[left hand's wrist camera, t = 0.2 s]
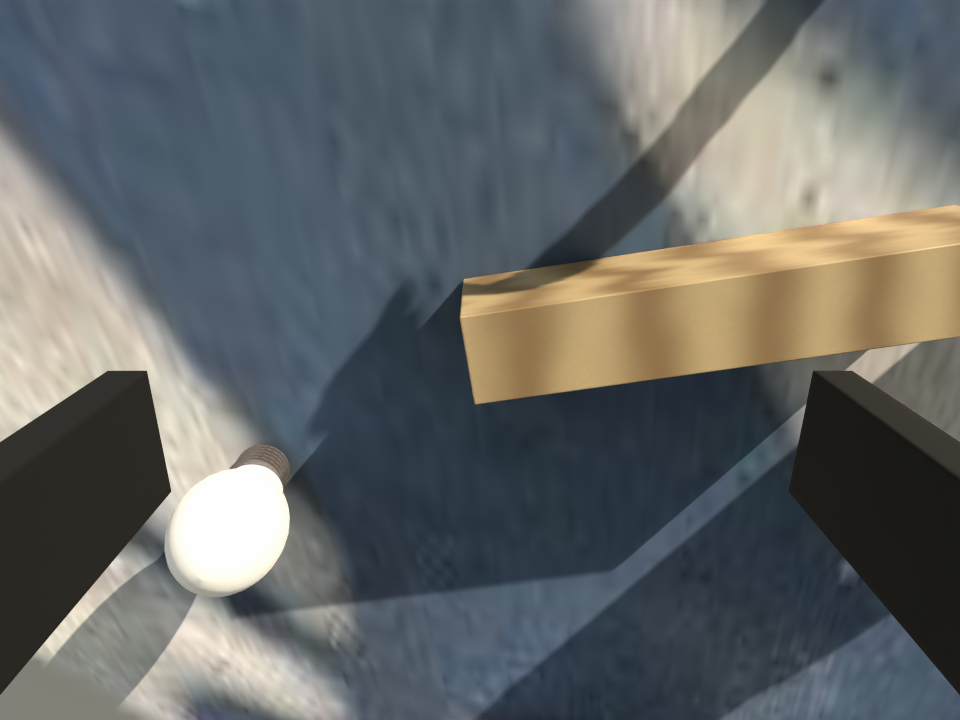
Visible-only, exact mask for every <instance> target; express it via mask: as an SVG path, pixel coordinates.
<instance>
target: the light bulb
mask: <svg viewBox="0 0 960 720" xmlns="http://www.w3.org/2000/svg"><path fill="white" fill-rule="evenodd" d="M289 476H290V464H289V461H288V459H287V457H286V456H285V455H284V454H283V453H282V452H281V451H280V450H278V449H277V448H275V447H272V446H268V445H257V446H253V447H251V448H248V449H247V450H245V451H244V452H243V453H242V454H241V455H240V457H239V458H238V460H237V461H236V463H235V464H234V465H233V467H232V468H231V469H229V470H224V471H221V472H218V473H216V474H213V475H210V476H209V477H207V478H205V479H204V480H202V481H201V482H199V483H198V484H196V485H195V486H194V487H193V488H192V489H191V490H190V491H189V492H188V493H187V494H186V495H185V496H184V497H183V498H182V499H181V500H180V502H179V504H178V505H177V507H176V509H175V510H174V512H173V514H172V515H171V518H170V521H169V524H168V527H167V530H166V534H165V555H166V560H167V564H168V567H169V569H170V572H171V573H172V575H173V576H174V578H175V579H176V580H177V581H178V582H179V583H180V584H181V585H182V586H183V587H184V588H186V589H187V590H188V591H190V592H192V593H195V594H198V595H201V596H207V597H224V596H229V595H232V594H235V593H238V592H241V591H243V590H245V589H247V588H249V587H250V586H252V585H253V584H255V583H256V582H258V581H259V580H260V579H261V578H262V577H264V576H265V575H266V574H267V572H268V571H269V570H270V569H271V568H272V567H273V565H274V564H275V563H276V561H277V560H278V558H279V556H280V555H281V553H282V551H283V548H284V546H285V543H286V540H287V537H288V532H289V523H290V515H289V508H288V504H287V501H286V498H285V495H284V494H283V489H284V487H285V485H286V483H287V481H288V479H289Z"/></svg>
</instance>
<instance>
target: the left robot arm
mask: <svg viewBox="0 0 960 720" xmlns="http://www.w3.org/2000/svg"><path fill="white" fill-rule="evenodd" d="M170 492H171V488H170V483H169V478H168V473H167V468H166V463H165V458H164V453H163V448H162V443H161V439H160V434H159V429H158V424H157V419H156V414H155V409H154V404H153V399H152V394H151V389H150V384H149V379H148V374H147V371H107V372H106V373H104V374H103V375H101V376H99V377H98V378H96V379H95V380H93V381H92V382H90V383H89V384H87V385H86V386H84V387H83V388H81V389H80V390H78V391H77V392H75V393H74V394H72V395H71V396H69V397H68V398H66V399H65V400H63V401H62V402H60V403H59V404H57V405H56V406H54V407H53V408H51V409H50V410H48V411H47V412H45V413H44V414H42V415H41V416H39V417H38V418H36V419H35V420H33V421H32V422H30V423H29V424H27V425H26V426H24V427H23V428H21V429H20V430H18V431H16V432H15V433H13V434H12V435H10V436H9V437H7V438H6V439H4V440H3V441H1V442H0V694H1V693H2V692H3V691H4V690H5V689H6V687H7V686H8V685H9V684H10V683H11V681H12V680H13V679H14V678H15V677H16V675H17V674H18V673H19V672H20V671H21V669H22V668H23V667H24V666H25V665H26V663H27V662H28V661H29V660H30V659H31V658H32V656H33V655H34V654H35V653H36V652H37V650H38V649H39V648H40V647H41V646H42V645H43V643H44V642H45V641H46V640H47V639H48V637H49V636H50V635H51V634H52V633H53V631H54V630H55V629H56V628H57V627H58V626H59V624H60V623H61V622H62V621H63V620H64V618H65V617H66V616H67V615H68V614H69V612H70V611H71V610H72V609H73V608H74V606H75V605H76V604H77V603H78V602H79V601H80V599H81V598H82V597H83V596H84V595H85V593H86V592H87V591H88V590H89V589H90V587H91V586H92V585H93V584H94V583H95V582H96V580H97V579H98V578H99V577H100V576H101V574H102V573H103V572H104V571H105V570H106V568H107V567H108V566H109V565H110V564H111V562H112V561H113V560H114V559H115V558H116V557H117V555H118V554H119V553H120V552H121V551H122V549H123V548H124V547H125V546H126V545H127V543H128V542H129V541H130V540H131V539H132V538H133V536H134V535H135V534H136V533H137V532H138V530H139V529H140V528H141V527H142V526H143V524H144V523H145V522H146V521H147V520H148V519H149V517H150V516H151V515H152V514H153V513H154V511H155V510H156V509H157V508H158V507H159V505H160V504H161V503H162V502H163V501H164V499H165V498H166V497H167V496H168V495H169V494H170ZM789 492H790V494H791V495H792V496H793V497H794V498H795V499H796V501H797V502H798V503H799V504H800V505H801V507H802V508H803V509H804V510H805V511H806V513H807V514H808V515H809V516H810V517H811V519H812V520H813V521H814V522H815V523H816V524H817V526H818V527H819V528H820V529H821V530H822V532H823V533H824V534H825V535H826V536H827V538H828V539H829V540H830V541H831V542H832V543H833V545H834V546H835V547H836V548H837V549H838V551H839V552H840V553H841V554H842V555H843V557H844V558H845V559H846V560H847V561H848V562H849V564H850V565H851V566H852V567H853V568H854V570H855V571H856V572H857V573H858V574H859V576H860V577H861V578H862V579H863V580H864V582H865V583H866V584H867V585H868V586H869V587H870V589H871V590H872V591H873V592H874V593H875V595H876V596H877V597H878V598H879V599H880V601H881V602H882V603H883V604H884V605H885V606H886V608H887V609H888V610H889V611H890V612H891V614H892V615H893V616H894V617H895V618H896V620H897V621H898V622H899V623H900V624H901V626H902V627H903V628H904V629H905V630H906V631H907V633H908V634H909V635H910V636H911V637H912V639H913V640H914V641H915V642H916V643H917V645H918V646H919V647H920V648H921V649H922V650H923V652H924V653H925V654H926V655H927V656H928V658H929V659H930V660H931V661H932V662H933V664H934V665H935V666H936V667H937V668H938V670H939V671H940V672H941V673H942V674H943V675H944V677H945V678H946V679H947V680H948V681H949V683H950V684H951V685H952V686H953V687H954V689H955V690H956V691H957V692H958V693H959V694H960V442H959V441H957V440H956V439H954V438H953V437H951V436H950V435H948V434H947V433H945V432H944V431H942V430H940V429H939V428H937V427H936V426H934V425H933V424H931V423H930V422H928V421H927V420H925V419H924V418H922V417H921V416H919V415H918V414H916V413H915V412H913V411H912V410H910V409H909V408H907V407H906V406H904V405H903V404H901V403H900V402H898V401H897V400H895V399H894V398H892V397H891V396H889V395H888V394H886V393H885V392H883V391H882V390H880V389H879V388H877V387H876V386H874V385H873V384H871V383H870V382H868V381H867V380H865V379H864V378H862V377H861V376H859V375H857V374H856V373H854V372H853V371H813V374H812V379H811V384H810V389H809V394H808V399H807V404H806V409H805V414H804V419H803V424H802V429H801V434H800V439H799V444H798V448H797V453H796V458H795V463H794V468H793V473H792V478H791V483H790V488H789Z"/></svg>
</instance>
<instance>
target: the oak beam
mask: <svg viewBox="0 0 960 720" xmlns="http://www.w3.org/2000/svg"><path fill="white" fill-rule="evenodd" d="M460 323H461V328H462V334H463V340H464V346H465V351H466V357H467V363H468V369H469V375H470V380H471V386H472V392H473V398H474V403H475V404H482V403H490V402H497V401H504V400H511V399H518V398H525V397H532V396H540V395H547V394H554V393H561V392H568V391H575V390H583V389H590V388H597V387H604V386H611V385H618V384H626V383H633V382H640V381H647V380H654V379H661V378H668V377H676V376H683V375H690V374H697V373H704V372H711V371H719V370H726V369H733V368H740V367H747V366H754V365H761V364H769V363H776V362H783V361H790V360H797V359H804V358H812V357H819V356H826V355H833V354H840V353H847V352H855V351H862V350H869V349H876V348H883V347H890V346H897V345H905V344H912V343H919V342H926V341H933V340H940V339H948V338H955V337H960V206H956V205H952V206H945V207H939V208H932V209H925V210H919V211H912V212H906V213H899V214H892V215H886V216H879V217H872V218H866V219H859V220H853V221H846V222H839V223H833V224H826V225H819V226H813V227H806V228H799V229H793V230H786V231H780V232H773V233H766V234H760V235H753V236H746V237H740V238H733V239H727V240H720V241H713V242H707V243H700V244H693V245H687V246H680V247H673V248H667V249H660V250H654V251H647V252H640V253H634V254H627V255H620V256H614V257H607V258H600V259H594V260H587V261H581V262H574V263H567V264H561V265H554V266H547V267H541V268H534V269H528V270H521V271H514V272H508V273H501V274H494V275H488V276H481V277H474V278H468V279H464V280H463V289H462V300H461V310H460Z"/></svg>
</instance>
